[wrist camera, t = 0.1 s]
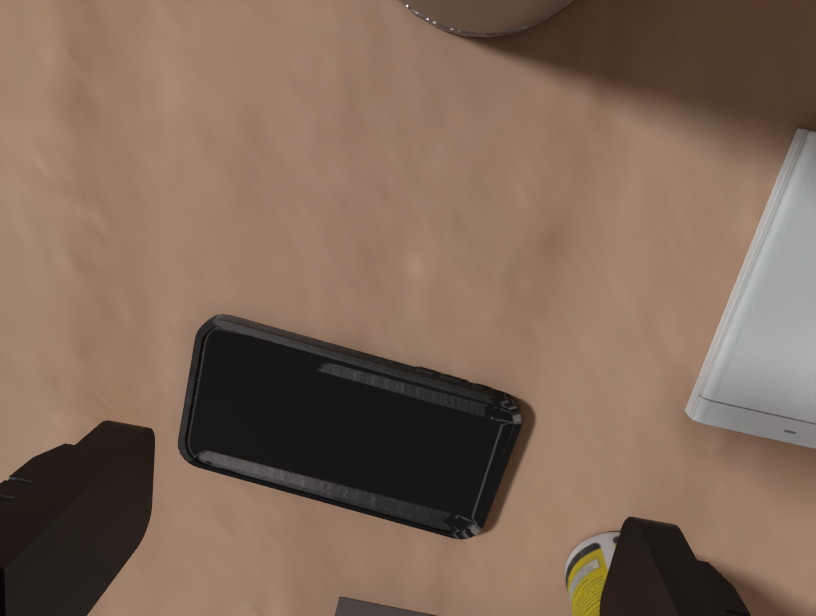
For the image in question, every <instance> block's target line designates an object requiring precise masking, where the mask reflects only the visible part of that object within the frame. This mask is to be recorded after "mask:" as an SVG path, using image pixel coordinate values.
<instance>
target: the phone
mask: <svg viewBox="0 0 816 616" xmlns="http://www.w3.org/2000/svg"><path fill="white" fill-rule="evenodd" d="M521 424H522V419H521V413H520V408H519V405H518V403H517V402H516V400H515V399H514V398H513V397H512V396H510V395H509V394H507V393H505V392H502V391H499V390H495V389H491V388H488V387H485V386H482V385H478V384H475V383H470V382H467V381H463V380H461V379H458V378H454V377H451V376H447V375H444V374H438V373H435V372H434V371H431V370H427V369H424V368H420V367H413V366H410V365H406V364H403V363H399V362H396V361H392V360H388V359H385V358H381V357H378V356H374V355H371V354H367V353H364V352H360V351H356V350H353V349H349V348H346V347H342V346H339V345H335V344H332V343H328V342H324V341H321V340H317V339H314V338H310V337H307V336H303V335H300V334H296V333H292V332H289V331H285V330H282V329H278V328H275V327H271V326H268V325H264V324H260V323H257V322H253V321H250V320H246V319H243V318H239V317H236V316H232V315H225V314H221V315H216V316H214V317H212V318H210V319H209V320H208V321H206V322H205V323H204V324H203V325H202V326H201V327H200V329H199V330H198V331H197V334H196V337H195V342H194V348H193V354H192V360H191V366H190V372H189V378H188V384H187V390H186V396H185V402H184V408H183V414H182V420H181V426H180V432H179V438H178V448H179V451H180V454H181V455H182V457H183V458H184V459H185V460H186V461H187V462H188V463H190V464H191V465H193V466H196V467H198V468H202V469H205V470H209V471H212V472H216V473H220V474H223V475H227V476H230V477H234V478H238V479H241V480H245V481H249V482H252V483H256V484H259V485H263V486H267V487H270V488H274V489H277V490H281V491H285V492H288V493H292V494H295V495H299V496H303V497H306V498H310V499H313V500H317V501H321V502H324V503H328V504H331V505H335V506H339V507H342V508H346V509H350V510H353V511H357V512H360V513H364V514H368V515H371V516H375V517H378V518H382V519H386V520H389V521H393V522H396V523H400V524H404V525H407V526H411V527H414V528H418V529H422V530H425V531H429V532H433V533H436V534H440V535H443V536H447V537H451V538H455V539H468V538H471V537H473V536H475V535H477V534H478V533H479V532H480V531H481V530H482V528H483V526H484V524H485V522H486V519H487V516H488V514H489V511H490V508H491V506H492V503H493V500H494V498H495V495H496V492H497V490H498V487H499V484H500V482H501V479H502V476H503V474H504V471H505V469H506V466H507V463H508V461H509V458H510V455H511V453H512V450H513V447H514V445H515V442H516V439H517V437H518V434H519V431H520V429H521Z"/></svg>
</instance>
